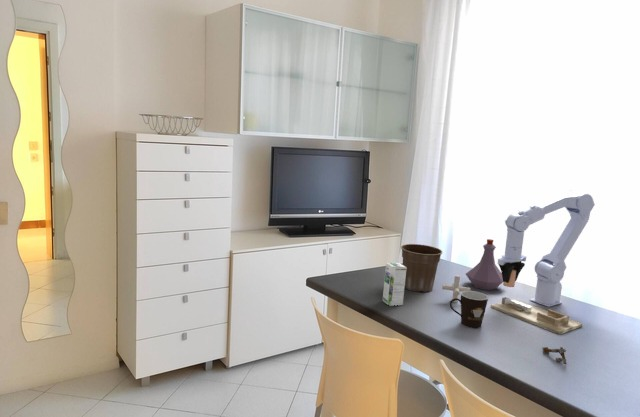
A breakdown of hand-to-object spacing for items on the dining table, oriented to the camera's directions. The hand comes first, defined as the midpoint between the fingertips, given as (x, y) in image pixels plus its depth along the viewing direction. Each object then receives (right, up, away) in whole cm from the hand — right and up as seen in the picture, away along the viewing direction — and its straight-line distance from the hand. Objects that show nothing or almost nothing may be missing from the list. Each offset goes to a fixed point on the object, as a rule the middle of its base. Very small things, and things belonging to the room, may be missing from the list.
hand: (509, 281), depth 178 cm
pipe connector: (-21, -8, -1) cm, 23 cm away
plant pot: (-32, -5, +13) cm, 35 cm away
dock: (+4, -11, -12) cm, 16 cm away
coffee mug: (-23, -11, -22) cm, 33 cm away
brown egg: (0, -2, 0) cm, 2 cm away
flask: (-3, -5, +20) cm, 20 cm away
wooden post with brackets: (-5, -16, -43) cm, 46 cm away
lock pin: (0, -8, -7) cm, 11 cm away
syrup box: (-45, -7, -7) cm, 46 cm away
